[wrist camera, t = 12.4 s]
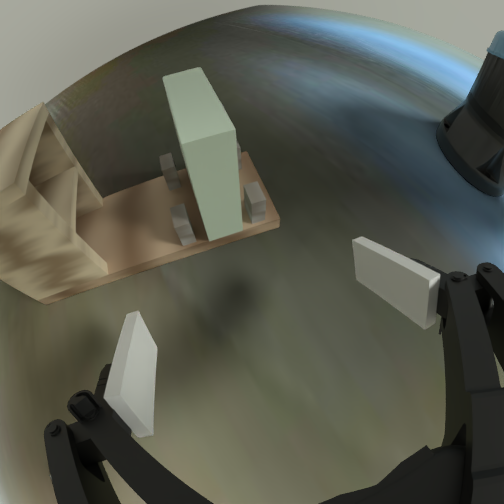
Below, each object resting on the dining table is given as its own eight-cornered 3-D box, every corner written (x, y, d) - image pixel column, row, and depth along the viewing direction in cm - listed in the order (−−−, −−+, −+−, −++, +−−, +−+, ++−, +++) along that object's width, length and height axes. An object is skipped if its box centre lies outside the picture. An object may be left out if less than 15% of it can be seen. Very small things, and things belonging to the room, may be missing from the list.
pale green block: (225, 156, 28) (215, 63, 18) (256, 226, 24) (256, 124, 14) (186, 168, 27) (162, 77, 17) (209, 241, 24) (181, 144, 14)
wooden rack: (246, 160, 30) (242, 35, 16) (279, 227, 26) (296, 85, 13) (46, 233, 26) (-29, 152, 13) (45, 305, 22) (-59, 237, 9)
